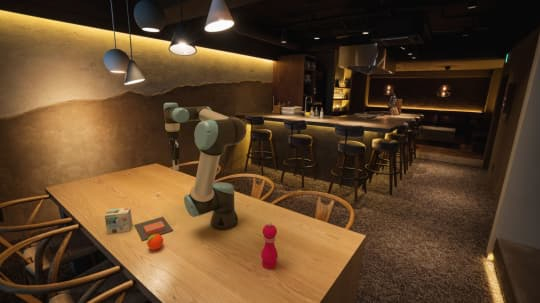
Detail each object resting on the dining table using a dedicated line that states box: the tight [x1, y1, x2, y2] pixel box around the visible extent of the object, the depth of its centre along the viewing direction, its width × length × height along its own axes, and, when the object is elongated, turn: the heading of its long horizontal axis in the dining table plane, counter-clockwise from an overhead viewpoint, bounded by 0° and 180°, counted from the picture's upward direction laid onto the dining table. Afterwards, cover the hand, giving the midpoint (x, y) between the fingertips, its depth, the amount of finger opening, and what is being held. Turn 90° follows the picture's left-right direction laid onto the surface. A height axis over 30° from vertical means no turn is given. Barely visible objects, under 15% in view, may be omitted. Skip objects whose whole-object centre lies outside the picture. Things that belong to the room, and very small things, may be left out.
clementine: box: [145, 234, 164, 251], centre depth 115 cm, size 8×7×7 cm
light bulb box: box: [104, 207, 134, 235], centre depth 130 cm, size 11×7×11 cm, turn 105°
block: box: [144, 221, 165, 236], centre depth 130 cm, size 2×9×6 cm
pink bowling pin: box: [260, 221, 279, 270], centre depth 104 cm, size 7×7×20 cm
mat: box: [133, 216, 174, 242], centre depth 133 cm, size 18×15×1 cm
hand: (176, 169), depth 146 cm, fingers closed
